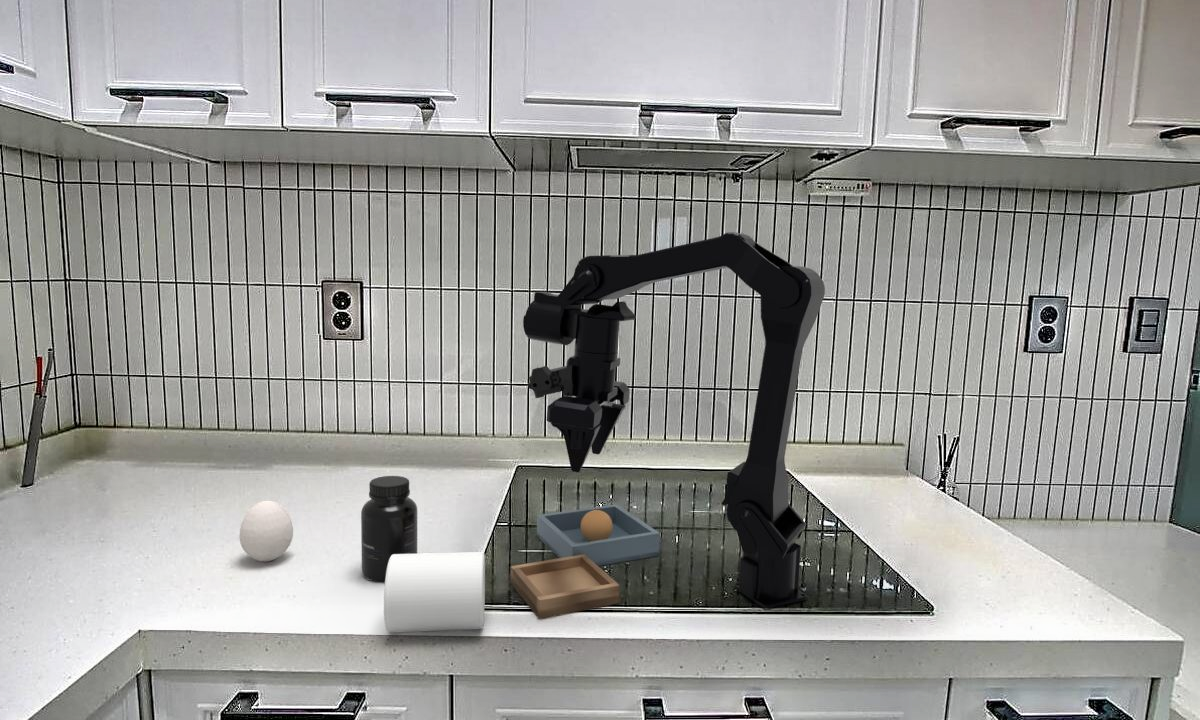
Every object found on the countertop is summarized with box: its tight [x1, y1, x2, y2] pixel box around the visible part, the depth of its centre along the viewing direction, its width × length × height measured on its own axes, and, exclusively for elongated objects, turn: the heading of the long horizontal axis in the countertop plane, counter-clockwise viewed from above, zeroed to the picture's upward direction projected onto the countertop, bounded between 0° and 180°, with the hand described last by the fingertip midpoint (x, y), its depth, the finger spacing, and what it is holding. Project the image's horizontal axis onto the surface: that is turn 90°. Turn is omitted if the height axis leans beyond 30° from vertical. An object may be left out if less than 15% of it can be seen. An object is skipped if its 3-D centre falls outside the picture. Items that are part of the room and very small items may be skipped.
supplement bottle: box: [360, 475, 418, 583], centre depth 91 cm, size 7×7×12 cm
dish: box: [536, 503, 661, 567], centre depth 102 cm, size 13×13×3 cm
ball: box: [581, 510, 613, 541], centre depth 102 cm, size 4×4×4 cm
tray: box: [510, 554, 621, 620], centre depth 87 cm, size 10×10×2 cm
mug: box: [383, 551, 486, 633], centre depth 80 cm, size 12×10×8 cm
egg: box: [239, 500, 294, 562], centre depth 94 cm, size 6×6×8 cm
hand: (586, 462), depth 99 cm, fingers open, 9 cm apart
